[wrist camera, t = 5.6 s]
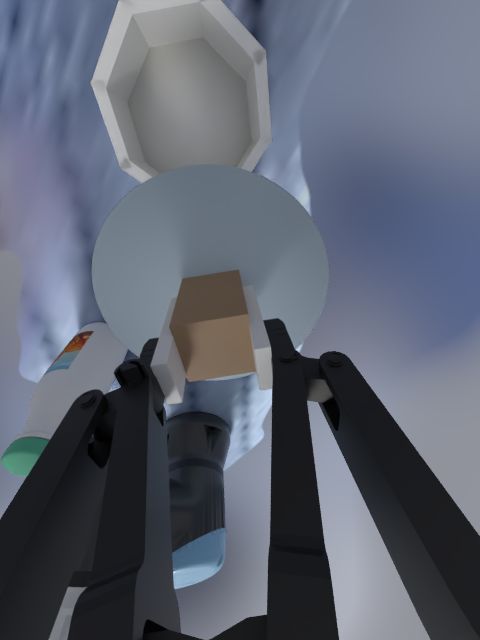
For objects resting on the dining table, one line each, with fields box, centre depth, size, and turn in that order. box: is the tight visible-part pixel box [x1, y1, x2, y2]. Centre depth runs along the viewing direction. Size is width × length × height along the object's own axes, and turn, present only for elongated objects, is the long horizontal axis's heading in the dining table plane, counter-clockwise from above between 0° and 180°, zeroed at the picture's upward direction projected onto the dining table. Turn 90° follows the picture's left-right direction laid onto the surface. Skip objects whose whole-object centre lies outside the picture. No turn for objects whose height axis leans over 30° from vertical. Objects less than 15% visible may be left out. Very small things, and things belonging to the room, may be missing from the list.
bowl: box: [90, 0, 273, 183], centre depth 24 cm, size 14×14×7 cm
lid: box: [92, 164, 329, 382], centre depth 17 cm, size 17×17×7 cm
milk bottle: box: [1, 322, 128, 477], centre depth 32 cm, size 8×8×20 cm
